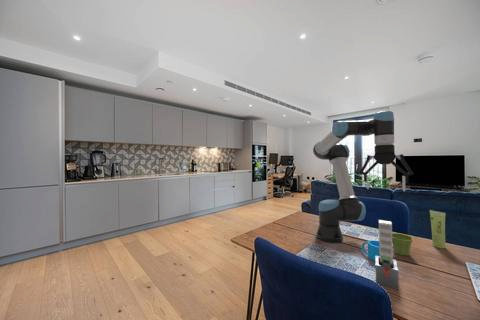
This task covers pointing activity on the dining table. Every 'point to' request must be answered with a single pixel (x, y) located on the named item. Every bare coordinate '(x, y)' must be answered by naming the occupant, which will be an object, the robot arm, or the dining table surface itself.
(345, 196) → the robot arm
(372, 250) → the mug
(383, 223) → the column
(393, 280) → the stand
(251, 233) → the dining table surface
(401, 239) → the plant pot
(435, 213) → the tube
